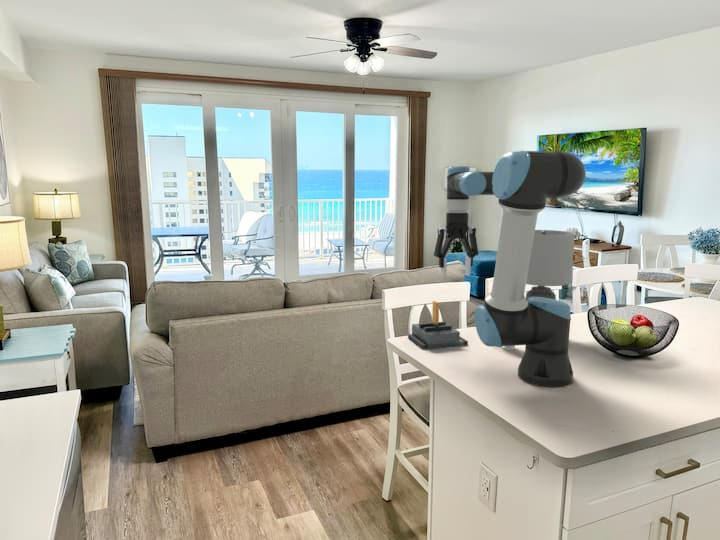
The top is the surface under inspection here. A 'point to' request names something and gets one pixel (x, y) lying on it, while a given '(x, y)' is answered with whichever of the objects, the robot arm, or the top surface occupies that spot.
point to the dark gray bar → (417, 341)
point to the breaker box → (436, 335)
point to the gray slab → (463, 342)
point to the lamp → (550, 262)
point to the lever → (435, 314)
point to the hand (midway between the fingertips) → (455, 276)
